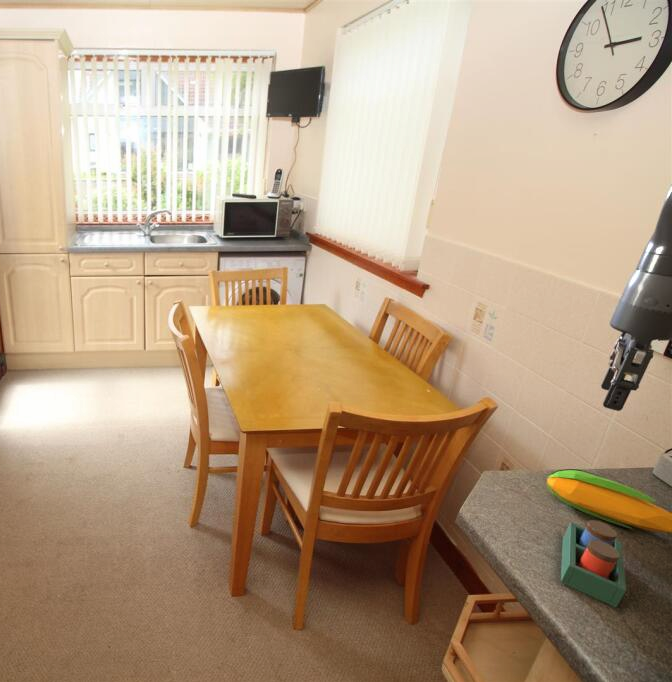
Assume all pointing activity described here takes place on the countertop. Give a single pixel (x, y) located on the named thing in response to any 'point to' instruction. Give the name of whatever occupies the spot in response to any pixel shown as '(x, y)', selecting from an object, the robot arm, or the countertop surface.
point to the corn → (608, 500)
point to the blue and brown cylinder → (597, 533)
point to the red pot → (599, 558)
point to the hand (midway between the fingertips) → (609, 398)
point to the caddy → (584, 579)
